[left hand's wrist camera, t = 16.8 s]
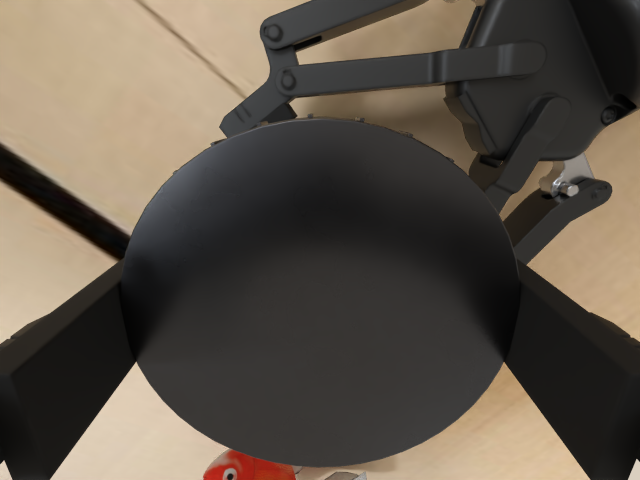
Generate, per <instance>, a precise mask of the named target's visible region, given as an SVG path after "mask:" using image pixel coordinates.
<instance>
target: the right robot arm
mask: <svg viewBox="0 0 640 480" xmlns="http://www.w3.org/2000/svg"><path fill="white" fill-rule="evenodd" d="M427 1H428V0H311V1H309V2H306V3H304V4H301V5H299V6H296V7H293V8H291V9H288V10H286V11H283V12H281V13H278V14H276V15H273V16H271V17H268V18H267V19H265V20H264V21H263V23H262V25H261V28H260V37H261V40H262V41H263V44H264V47H265V50H266V54H267V57H268V60H269V64H270V75H269V78H268V80H267V81H266V82H265V83H264V84H263V85H262V86H261V87H260V88H259V89H257V90H256V91H255V92H254V93H253V94H251V95H250V96H249V97H248V98H247V99H245V100H244V101H243V102H242V103H241V104H239V105H238V106H237V107H236V108H235V109H233V110H232V111H231V112H230V113H228V114H227V115H226V116H225V117H224V118H223V120H222V122H221V124H220V126H219V128H220V129H221V130H222V132H223V133H224V134H225V135H226V137H227V138H229V137H230V136H233V135H236V134H238V133H241V132H244V131H247V130H250V129H253V128H256V127H257V123H260V122H265V121H268V124H269V123H274V122H279V121H284V120H290V119H295V118H296V117H297V114H296V113H295V112H294V110H293V109H292V107H291V106H290V105H289V103H290V102H291V101H292V100H294V99H295V98H301V97H312V96H323V95H334V94H345V93H357V92H368V91H379V90H390V89H401V88H412V87H427V86H439V85H445V91H446V97H445V98H443V99H444V101H445V103H446V105H447V106H448V108H449V110H450V112H451V113H452V114H453V115H455V116H456V117H457V118H458V119H459V120H460V121H461V122H462V125H463V130H464V134H465V138H466V140H467V142H468V143H469V145H470V147H471V149H472V150H473V151H477V152H478V154H477V155H476V157H475V159H474V161H473V163H472V164H471V166H470V169H469V177H470V178H471V179H472V180H473V181H474V182H475V183H476V184H477V185H478V186H479V187H480V188H481V189H482V191H483V192H484V193H485V195H486V196H487V198H488V199H489V200H490V202H491V203H492V205H493V206H494V208H495V209H496V210H497V212H498V214H499V213H500V211H501V210H502V208H503V206H504V205H505V203H506V202H507V200H508V198H509V197H510V196H511V195H512V194H514V193H517V192H518V191H519V190H520V189H521V188H522V187H523V185H524V184H525V182H526V180H527V179H528V177H529V175H530V174H531V172H532V171H533V169H534V167H535V166H536V164H537V162H538V161H553V167H552V170H551V172H550V173H549V174H548V175H547V176H545V177H542V178H541V179H540V180H539V186H540V187H541V188H539V189H537V190H536V191H534V192H533V193H532V194H530V195H529V196H528V197H527V198H526V199H525V200H524V201H522V202H521V203H520V204H519V205H518V206H517V208H516V209H515V210H514V211H513V212H512V213H511V214H510V215H509V216H508V217H507V218H506V219H505V220H504V221H503V224H504V226H505V228H506V230H507V232H508V234H509V237H510V240H511V243H512V246H513V249H514V253H515V256H516V258H517V259H518V260H520V261H521V262H522V263H524V264H525V265H527V264H528V263H529V262H530V261H531V260H532V259H533V258H534V257H535V256H536V255H537V254H538V253H539V252H540V251H541V250H542V249H543V248H544V247H545V246H546V245H547V244H548V243H549V242H550V241H551V240H552V239H553V238H554V237H555V236H556V235H557V234H558V233H559V232H560V231H561V230H562V229H563V228H564V227H565V226H566V225H567V224H568V223H569V222H571V221H573V220H574V219H576V218H578V217H580V216H582V215H583V214H585V213H587V212H589V211H591V210H593V209H594V208H596V207H598V206H600V205H602V204H603V203H605V202H606V201H607V200H608V199H609V198H610V196H611V194H612V186H611V185H610V184H609V183H608V182H606V181H602V180H598V179H595V178H594V176H593V174H592V171H591V169H590V166H589V164H588V161H587V159H586V156H585V154H584V151H585V150H586V149H587V148H588V147H589V145H590V144H591V143H592V141H593V140H594V138H595V137H596V136H597V135H598V134H599V133H600V132H601V131H602V130H603V129H604V128H605V127H607V126H608V125H610V124H612V123H614V122H616V121H618V120H620V119H622V118H624V117H626V116H628V115H630V114H632V113H633V112H635V111H637V110H639V109H640V0H472V1H474V3H475V4H476V5H477V6H476V8H475V10H474V12H473V15H472V17H471V19H470V22H469V24H468V27H467V29H466V32H465V34H464V37H463V39H462V41H461V44H460V46H459V49H449V50H442V51H437V52H432V53H423V54H412V55H401V56H391V57H380V58H369V59H358V60H347V61H337V62H326V63H315V64H304V65H299V63H298V59H297V56H296V52H298V51H301V50H304V49H306V48H309V47H311V46H314V45H317V44H319V43H322V42H325V41H327V40H330V39H333V38H335V37H338V36H341V35H343V34H346V33H349V32H351V31H354V30H356V29H359V28H362V27H364V26H367V25H370V24H372V23H375V22H378V21H380V20H383V19H386V18H388V17H391V16H394V15H396V14H399V13H401V12H404V11H407V10H409V9H412V8H414V7H417V6H419V5H421V4H423V3H425V2H427ZM444 1H445V2H448V3H454V2H457V1H459V0H444ZM502 161H503V163H502V164H501V162H502ZM500 164H501V165H500Z"/></svg>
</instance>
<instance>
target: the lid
mask: <svg viewBox="0 0 640 480" xmlns="http://www.w3.org/2000/svg"><path fill="white" fill-rule="evenodd" d="M412 136H413V135H412V134H410V133H407V132H403V131H399V132H396V131H394V130H391V129H388V128H386V127H382V126H378V125H374V124H370V123H365V122H364V118H359V117H356V118H355V120H352V119H344V118H332V117H313V114H308V118H295V119H290V120H284V121H279V122H274V123H269V124H268V121H265V122H260V123H257V127H256V128H253V129H250V130H247V131H244V132H241V133H238V134H236V135H233V136H230V137H229V138H227V139H226V138H225V139H222V140H219V141H215V142H213V143H211V147H209V148H207V149H205V150H204V151H202V152H201V153H200V154H198V155H197V156H196V157H194V158H193V159H191V160H190V161H189V162H187V163H186V164H184V165H183V166H182V167H181V168H180V169H179V170H176V171H175V172H174V173H173V175H172V176H171V177H170V178H169V179H168V180H167V181H166V182H165V183H164V184H163V185H162V186H161V187H160V189H159V190H158V191H157V193H156V194H155V195H154V197H153V198H152V199H151V201H150V202H149V203H148V205H147V206H146V207H145V209H144V211H143V213H142V215H141V217H140V219H139V221H138V222H137V224H136V226H135V228H134V230H133V233H132V235H131V238H130V241H129V244H128V247H127V250H126V253H125V258H124V263H123V269H122V274H121V295H120V302H121V310H122V315H123V320H124V325H125V329H126V333H127V338H128V342H129V346H130V348H131V350H132V352H133V355H134V357H135V359H136V361H137V364H138V366H139V367H140V369H141V371H142V372H143V374H144V376H145V377H146V379H147V381H148V382H149V384H150V385H151V386H152V388H153V389H154V390H155V391H156V393H157V394H158V395H159V396H160V398H161V399H162V400H163V401H164V402H165V403H166V404H167V405H168V406H169V407H170V408H171V409H172V410H173V411H174V412H175V413H176V414H177V415H178V416H179V417H180V418H182V419H183V420H184V421H185V422H187V423H188V424H189V425H191V426H192V427H193V428H195V429H196V430H197V431H199V432H201V433H202V434H204V435H206V436H207V437H209V438H210V439H212V440H214V441H216V442H218V443H220V444H222V445H224V446H226V447H228V448H230V449H232V450H235V451H237V452H240V453H243V454H246V455H248V456H251V457H254V458H258V459H262V460H266V461H270V462H274V463H279V464H286V465H292V466H303V467H340V466H347V465H355V464H362V463H366V462H370V461H375V460H379V459H383V458H386V457H389V456H392V455H395V454H398V453H401V452H403V451H406V450H408V449H410V448H412V447H414V446H417V445H419V444H421V443H423V442H425V441H426V440H428V439H430V438H432V437H433V436H435V435H437V434H438V433H440V432H442V431H443V430H444V429H446V428H447V427H448V426H450V425H451V424H452V423H454V422H455V421H456V420H458V419H459V418H460V417H461V416H462V415H463V414H464V413H465V412H466V411H468V410H469V409H470V408H471V407H472V406H473V405H474V404H475V403H476V401H477V400H478V399H479V398H480V397H481V396H482V394H483V393H484V392H485V391H486V390H487V388H488V387H489V386H490V384H491V382H492V381H493V379H494V378H495V376H496V375H497V373H498V372H499V370H500V368H501V366H502V364H503V362H504V360H505V358H506V356H507V354H508V351H509V349H510V346H511V343H512V339H513V335H514V331H515V326H516V322H517V317H518V312H519V307H520V280H519V273H518V266H517V260H516V256H515V253H514V249H513V246H512V243H511V240H510V237H509V234H508V232H507V230H506V228H505V226H504V224H503V222H502V220H501V218H500V216H499V214H498V212H497V210H496V209H495V208H494V206H493V205H492V203H491V202H490V200H489V199H488V198H487V196H486V195H485V193H484V192H483V191H482V189H481V188H480V187H479V186H478V185H477V184H476V183H475V182H474V181H473V180H472V179H471V178H470V177H469V176H468V175H467V174H466V173H465V172H464V171H463V170H462V169H461V168H459V167H458V166H457V165H456V164H454V163H453V162H454V160H452V159H451V158H448V157H445V156H444V155H442V154H441V153H440V152H438V151H436V150H434V149H432V148H431V147H429V146H427V145H425V144H423V143H422V142H420V141H418V140H416V139H414V138H412Z"/></svg>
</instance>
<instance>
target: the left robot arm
mask: <svg viewBox="0 0 640 480" xmlns="http://www.w3.org/2000/svg"><path fill="white" fill-rule="evenodd" d="M124 258H125V257H124ZM124 258H123V259H122V260H120V261H119V262H118V263H116V264H115V265H114V266H112V267H111V268H110V269H108V270H107V271H106V272H104V273H103V274H102V275H100V276H99V277H98V278H97V279H95V280H94V281H93V282H91V283H90V284H89V285H87V286H86V287H85V288H83V289H82V290H81V291H79V292H78V293H77V294H75V295H74V296H73V297H71V298H70V299H69V300H67V301H66V302H65V303H63V304H62V305H61V306H59V307H58V308H57V309H55V310H54V311H53V312H51V313H50V314H48V315H46V316H44V317H42V318H39V319H37V320H35V321H33V322H31V323H29V324H27V325H26V326H24V327H23V328H22V329H20V330H19V331H18V332H16V333H15V334H14V335H12V336H11V338H10V339H7V340H5V341H4V342H3V343H1V344H0V464H1V463H2V462H3V461H4V460H5V463H6V465H7V468H8V470H9V472H10V475H11V477H12V479H13V480H50V479H51V477H52V476H53V475H54V473H55V472H56V470H57V469H58V468H59V466H60V465H61V464H62V462H63V461H64V459H65V458H66V457H67V455H68V454H69V453H70V451H71V450H72V449H73V447H74V446H75V444H76V443H77V442H78V440H79V439H80V438H81V436H82V435H83V434H84V432H85V431H86V429H87V428H88V427H89V425H90V424H91V423H92V421H93V420H94V419H95V417H96V416H97V414H98V413H99V412H100V410H101V409H102V408H103V406H104V405H105V403H106V402H107V401H108V399H109V398H110V397H111V395H112V394H113V393H114V391H115V390H116V388H117V387H118V386H119V384H120V383H121V382H122V380H123V379H124V378H125V376H126V375H127V373H128V372H129V371H130V369H131V368H132V367H133V365H134V364H135V362H136V359H135V357H134V355H133V352H132V350H131V348H130V346H129V342H128V338H127V333H126V329H125V325H124V320H123V315H122V310H121V302H120V295H121V274H122V269H123V263H124ZM516 260H517V266H518V273H519V280H520V307H519V312H518V317H517V322H516V326H515V331H514V335H513V339H512V343H511V346H510V349H509V351H508V354H507V356H506V358H505V360H504V362H505V364H506V365H507V366H508V368H509V369H510V370H511V372H512V373H513V374H514V376H515V377H516V379H517V380H518V381H519V383H520V384H521V385H522V387H523V388H524V389H525V391H526V392H527V394H528V395H529V396H530V398H531V399H532V400H533V402H534V403H535V405H536V406H537V407H538V409H539V410H540V411H541V413H542V414H543V415H544V417H545V418H546V420H547V421H548V422H549V424H550V425H551V426H552V428H553V429H554V430H555V432H556V433H557V435H558V436H559V437H560V439H561V440H562V441H563V443H564V444H565V445H566V447H567V448H568V450H569V451H570V452H571V454H572V455H573V456H574V458H575V459H576V461H577V462H578V463H579V465H580V466H581V467H582V469H583V470H584V471H585V473H586V474H587V476H588V477H589V478H590V480H628V478H629V475H630V473H631V471H632V468H633V466H634V464H635V461H636V459H638V460H639V462H640V342H639V341H637V340H636V339H635V338H631V337H630V335H629V334H628V333H626V332H625V331H624V330H622V329H621V328H619V327H618V326H617V325H615V324H614V323H612V322H610V321H608V320H606V319H604V318H602V317H600V316H598V315H596V314H593V313H591V312H588V311H586V310H585V309H584V308H582V307H581V306H580V305H578V304H577V303H576V302H574V301H573V300H572V299H570V298H569V297H568V296H566V295H565V294H564V293H562V292H561V291H560V290H558V289H557V288H556V287H554V286H553V285H552V284H550V283H549V282H548V281H546V280H545V279H544V278H542V277H541V276H540V275H538V274H537V273H536V272H534V271H533V270H532V269H530V268H529V267H528V266H526V265H525V264H524V263H522V262H521V261H520V260H518V259H517V258H516Z"/></svg>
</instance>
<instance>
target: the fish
mask: <svg viewBox="0 0 640 480" xmlns="http://www.w3.org/2000/svg"><path fill="white" fill-rule="evenodd" d="M302 467H303V466H292V465H286V464H279V463H274V462H270V461H266V460H262V459H258V458H254V457H251V456H248V455H246V454H243V453H240V452H237V451H235V450H232V449H228V450H227V451H225V452H224V453H222V454H221V455H220V456H219V457H217V458H216V459H215V460H214V461H213V462H212V463H211V464H210V466H209V467H208V468H207V470H206V472H205V474H204V476H203V478H204V479H203V480H296V478H295V474H297V473H299V471H300V470H301V469H302ZM325 480H367V479H366V472H364V473H362V474H360V475H357V474H354V473H349V472H335V473H334V474H332V475H331V476H329V477H328V478H326V479H325Z"/></svg>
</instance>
